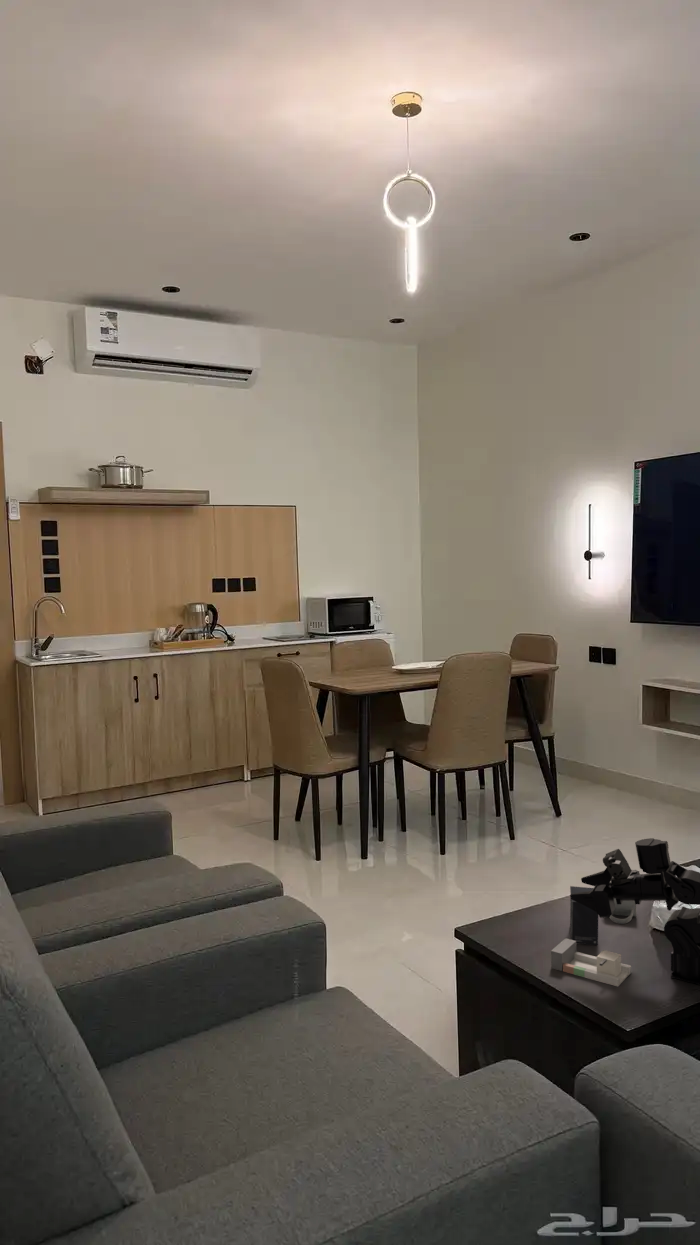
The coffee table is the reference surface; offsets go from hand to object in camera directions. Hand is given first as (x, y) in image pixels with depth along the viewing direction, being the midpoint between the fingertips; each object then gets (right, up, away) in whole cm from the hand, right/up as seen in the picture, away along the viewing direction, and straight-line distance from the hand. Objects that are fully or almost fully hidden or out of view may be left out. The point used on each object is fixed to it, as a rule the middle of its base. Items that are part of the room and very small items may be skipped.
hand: (576, 888), depth 203 cm
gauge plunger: (+4, -15, -12) cm, 20 cm away
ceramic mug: (+17, -14, +21) cm, 31 cm away
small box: (+4, -15, +10) cm, 18 cm away
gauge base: (+1, -16, -8) cm, 18 cm away
